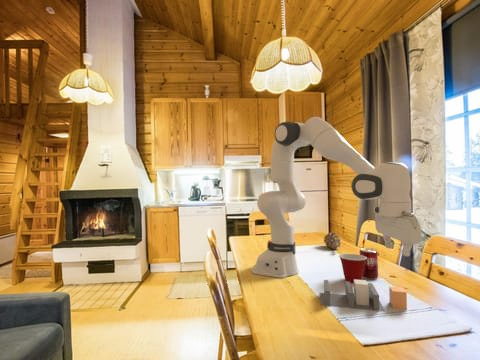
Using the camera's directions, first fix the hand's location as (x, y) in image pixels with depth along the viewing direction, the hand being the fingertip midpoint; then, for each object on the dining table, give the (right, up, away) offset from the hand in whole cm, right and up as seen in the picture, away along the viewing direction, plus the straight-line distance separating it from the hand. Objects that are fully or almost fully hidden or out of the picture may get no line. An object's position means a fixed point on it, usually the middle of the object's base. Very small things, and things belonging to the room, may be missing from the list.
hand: (397, 251), depth 87 cm
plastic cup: (-5, -20, +22) cm, 30 cm away
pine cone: (+6, -20, +75) cm, 78 cm away
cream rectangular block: (-10, -18, +3) cm, 21 cm away
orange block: (0, -20, 0) cm, 20 cm away
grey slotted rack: (-14, -20, +4) cm, 25 cm away
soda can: (+5, -20, +30) cm, 36 cm away
